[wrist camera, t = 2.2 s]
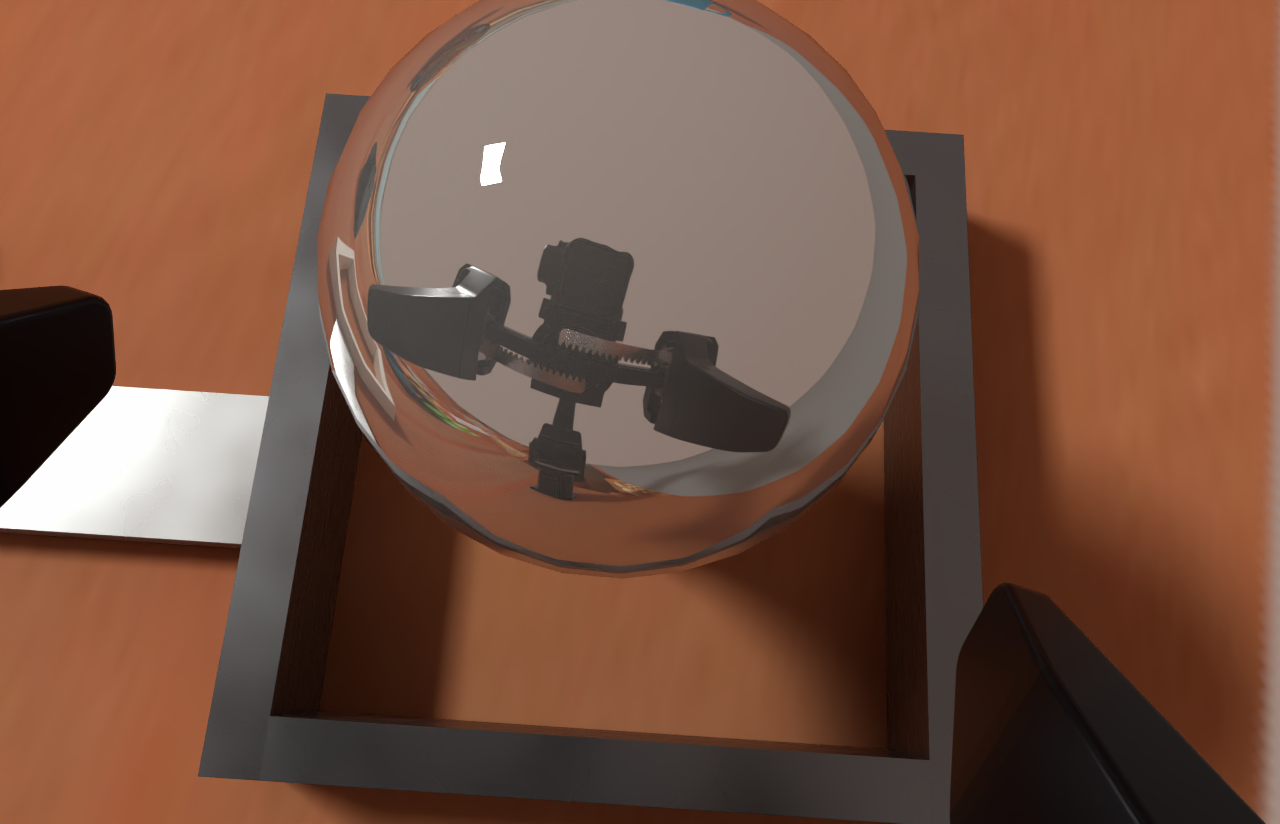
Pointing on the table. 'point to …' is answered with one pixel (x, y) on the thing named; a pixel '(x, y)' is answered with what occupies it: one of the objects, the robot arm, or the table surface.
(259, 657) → the collar
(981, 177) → the table surface
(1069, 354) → the table surface
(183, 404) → the rail strip
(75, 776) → the table surface
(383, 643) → the table surface
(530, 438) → the light bulb
